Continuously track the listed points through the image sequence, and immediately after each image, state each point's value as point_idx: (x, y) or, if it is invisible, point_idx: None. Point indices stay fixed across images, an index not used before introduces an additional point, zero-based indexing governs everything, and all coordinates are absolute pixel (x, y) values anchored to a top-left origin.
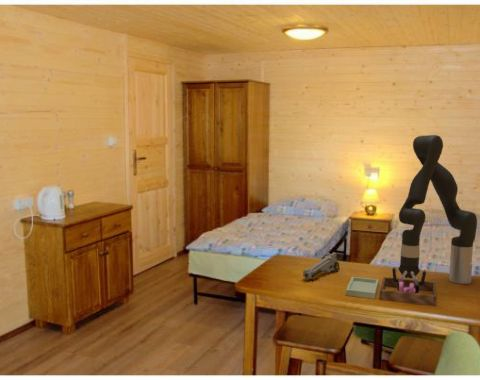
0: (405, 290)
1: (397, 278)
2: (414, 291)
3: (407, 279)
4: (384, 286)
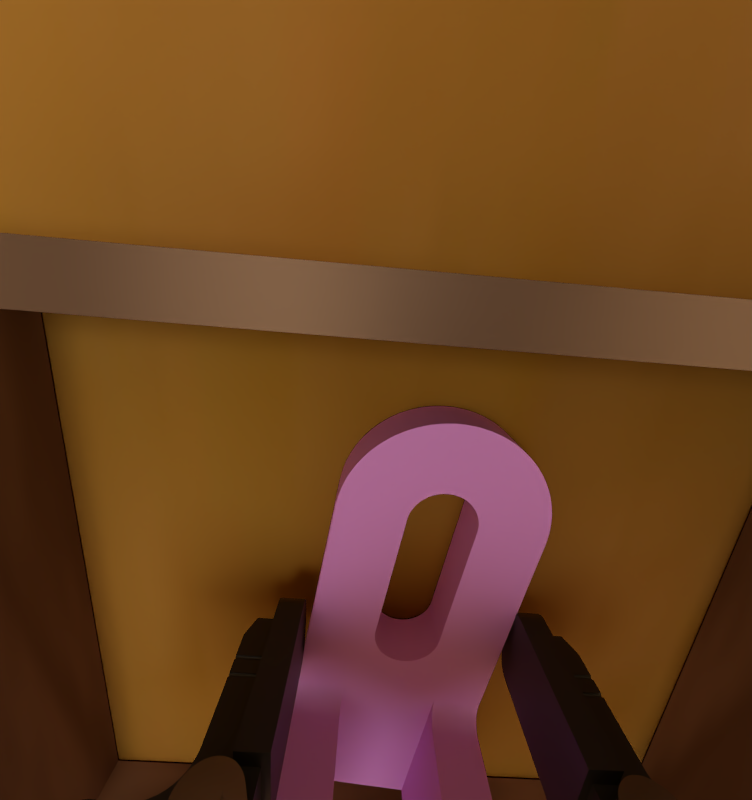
0: (374, 587)
1: (143, 274)
2: (509, 594)
3: (451, 291)
4: (15, 528)
